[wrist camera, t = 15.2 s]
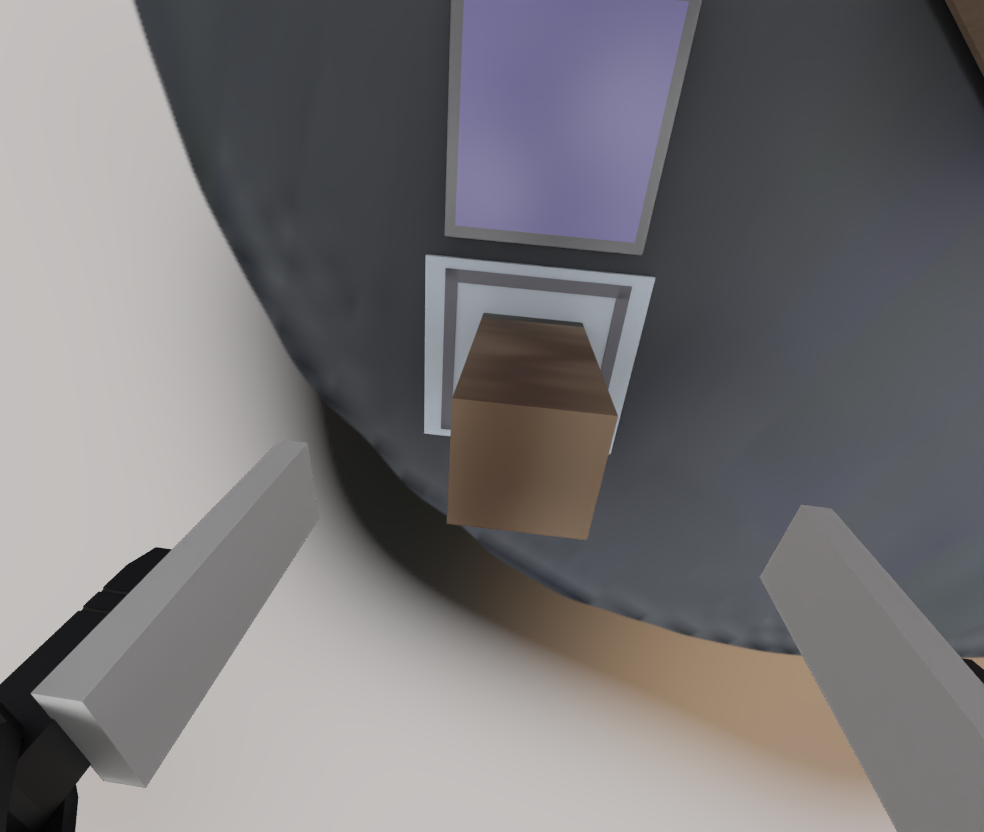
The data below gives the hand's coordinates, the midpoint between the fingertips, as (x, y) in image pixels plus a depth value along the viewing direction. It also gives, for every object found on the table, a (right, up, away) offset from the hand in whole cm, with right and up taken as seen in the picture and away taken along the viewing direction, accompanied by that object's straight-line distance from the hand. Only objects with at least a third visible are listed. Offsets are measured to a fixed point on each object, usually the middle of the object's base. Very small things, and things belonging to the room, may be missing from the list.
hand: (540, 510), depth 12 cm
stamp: (0, +5, +11) cm, 12 cm away
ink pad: (+1, +15, +6) cm, 16 cm away
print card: (+1, +6, +11) cm, 13 cm away
